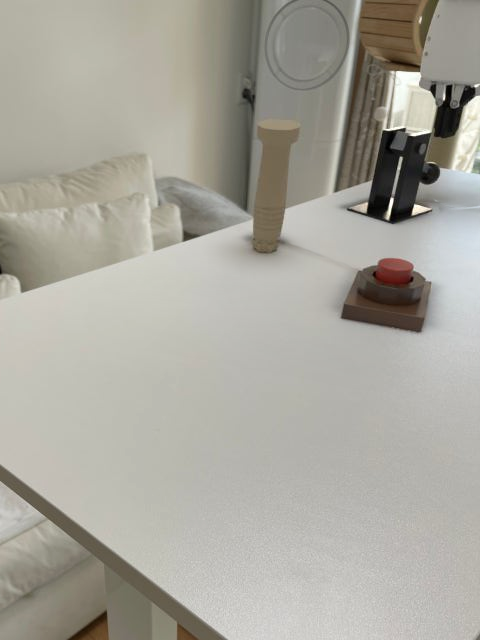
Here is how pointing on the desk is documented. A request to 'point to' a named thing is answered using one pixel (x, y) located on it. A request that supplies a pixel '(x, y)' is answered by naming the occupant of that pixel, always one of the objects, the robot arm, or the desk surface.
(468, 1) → the robot arm
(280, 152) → the handle
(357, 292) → the button block
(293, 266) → the desk surface
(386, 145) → the bracket
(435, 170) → the lever
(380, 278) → the button
